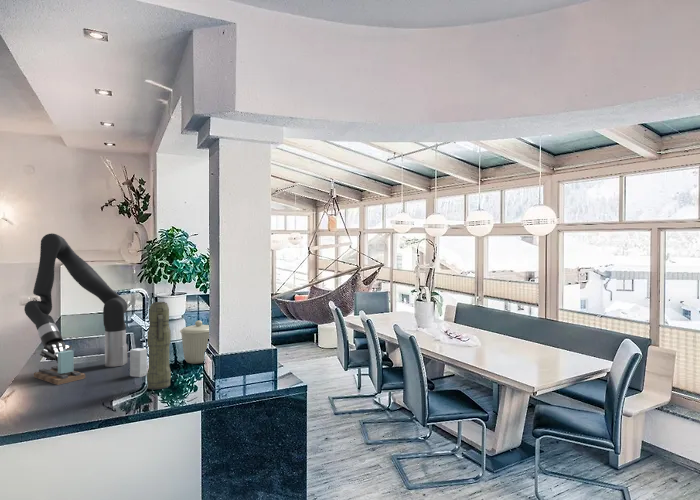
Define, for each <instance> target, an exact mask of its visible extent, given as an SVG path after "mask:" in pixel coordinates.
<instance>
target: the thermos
mask: <svg viewBox="0 0 700 500" xmlns="http://www.w3.org/2000/svg"><path fill="white" fill-rule="evenodd" d="M148 311H149V312H148V314H149V315H148V316H149V317H148V321H149V324H148V331H147V347H148V368H147V375H146V376H147V379H146V381H147V389H149V390H162V389H166V388H169V387H170V386H171V379H172V378H171V377H172V375H171V373H172V371H171V367H170V345H171V342H172V341H171V338H172V337H171V334H172V333H171V328H170V323H169V321H170V308H169V305H168V303H167V302H166V301H156V302H155V301H154V302H153V303H151V304H150V307H149V310H148Z"/></svg>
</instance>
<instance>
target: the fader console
mask: <svg viewBox="0 0 700 500" xmlns="http://www.w3.org/2000/svg"><path fill="white" fill-rule="evenodd" d="M33 378H35V379H38V380H42V381H44V382H48V383H50V384H54V385H57V386H60V385H62V384H63V385H64V384H68V383H73V382H76V381H81V380H83V379H86V373H83V372H80V371H76V370H74V371H72V372H71V375H65V374H60V373H58V365H55V366H51V368H50V369H47V368H40V369H38V371H36V372H33Z"/></svg>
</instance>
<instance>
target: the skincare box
mask: <svg viewBox="0 0 700 500" xmlns="http://www.w3.org/2000/svg"><path fill="white" fill-rule="evenodd" d="M147 373H148V349H147V348H142V347H141V348H140V347H137V348H133V349H130V350H129V376H130V377H133V378H134V377H135V378H142V377H145V376H147Z"/></svg>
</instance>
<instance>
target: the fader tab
mask: <svg viewBox="0 0 700 500" xmlns="http://www.w3.org/2000/svg"><path fill="white" fill-rule="evenodd" d="M74 352H75V351H74V350H72V349H71V350H68V351H66V350H63V351H62V352H58V364H57V366H58V373H60V374H65V375H71V372H72V371H75V370H74V368H75V367H74V366H75V365H74V362H75V361H74V360H75V359H74V358H75V357H74V355H75V354H74Z"/></svg>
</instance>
